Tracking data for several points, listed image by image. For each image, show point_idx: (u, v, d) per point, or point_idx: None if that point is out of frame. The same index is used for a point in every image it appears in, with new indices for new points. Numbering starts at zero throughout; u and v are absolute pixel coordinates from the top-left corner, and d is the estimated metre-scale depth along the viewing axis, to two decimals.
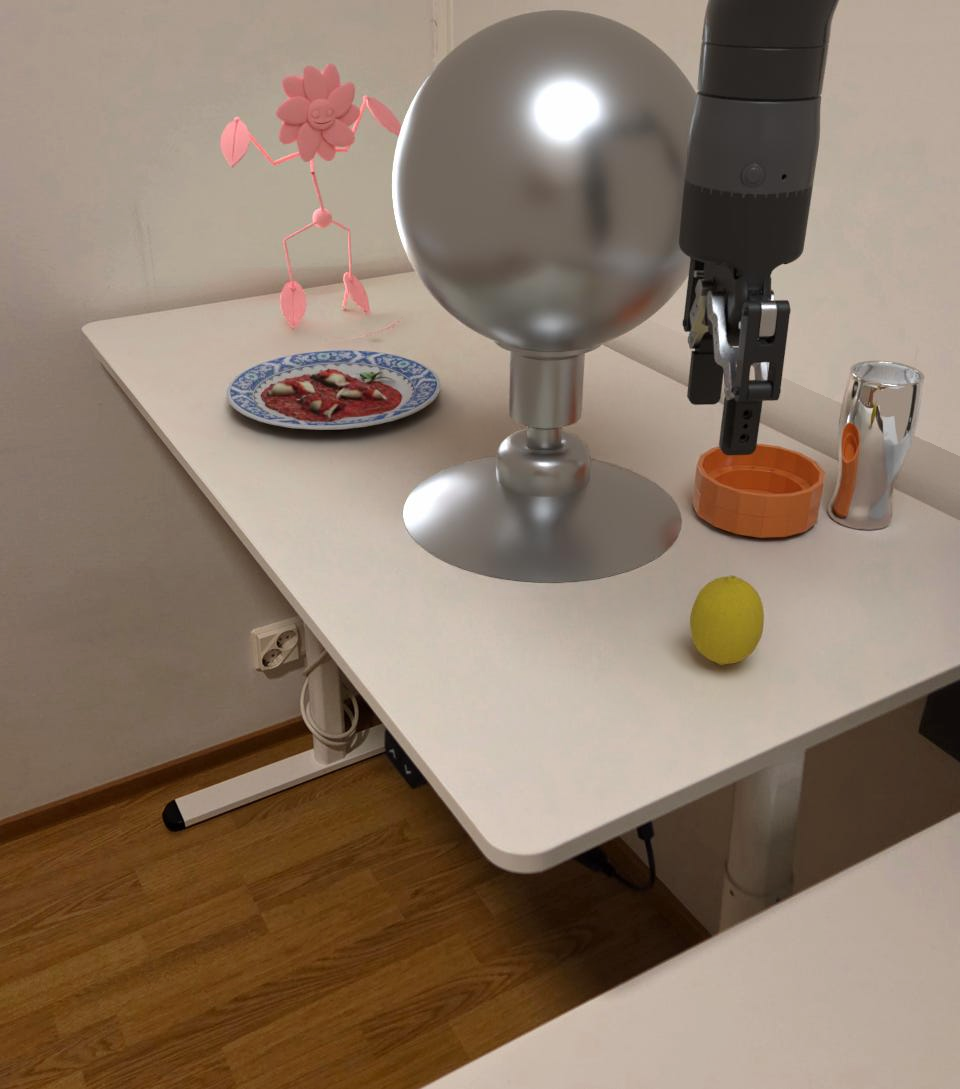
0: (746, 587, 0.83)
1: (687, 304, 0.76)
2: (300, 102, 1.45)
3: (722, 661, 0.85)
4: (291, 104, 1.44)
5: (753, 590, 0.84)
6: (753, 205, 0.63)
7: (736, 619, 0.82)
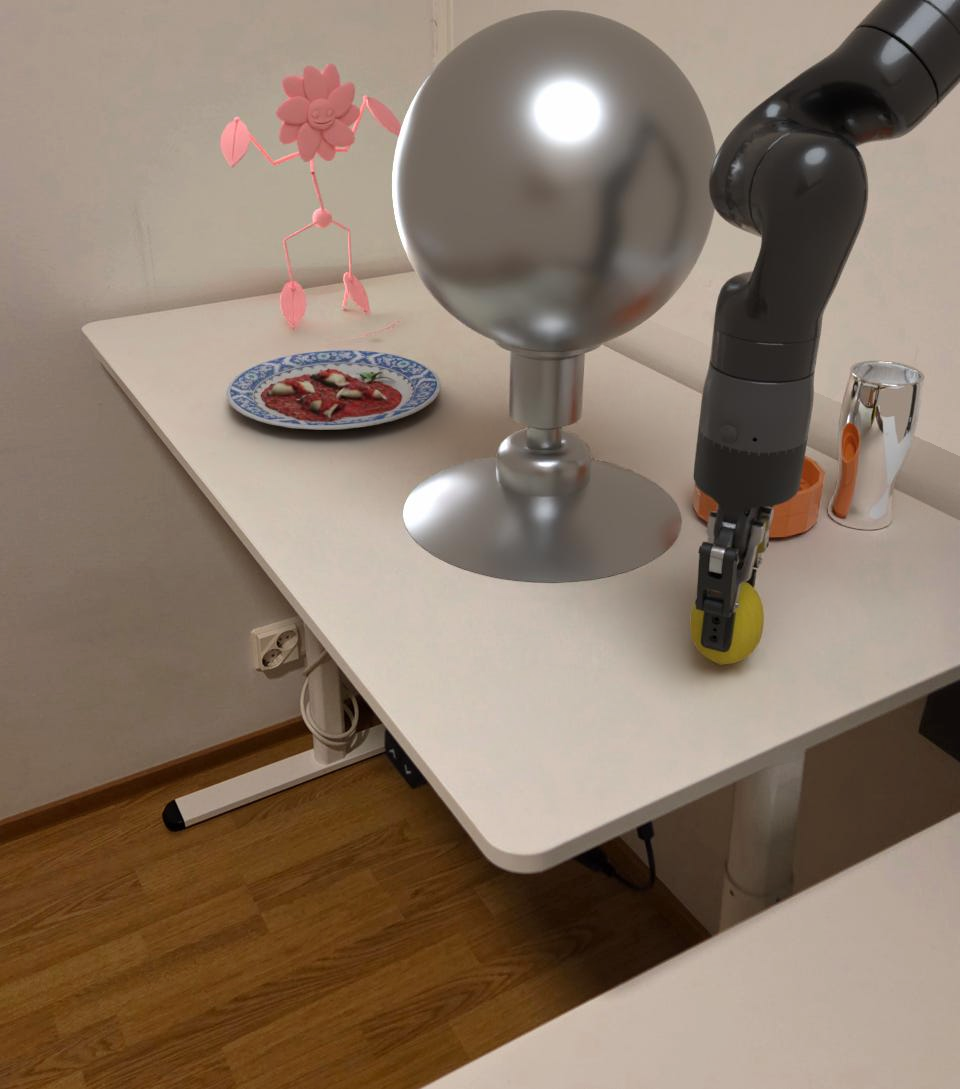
0: (746, 587, 0.83)
1: None
2: (300, 102, 1.45)
3: (722, 661, 0.85)
4: (291, 104, 1.44)
5: (753, 590, 0.83)
6: (728, 456, 0.75)
7: (736, 619, 0.82)
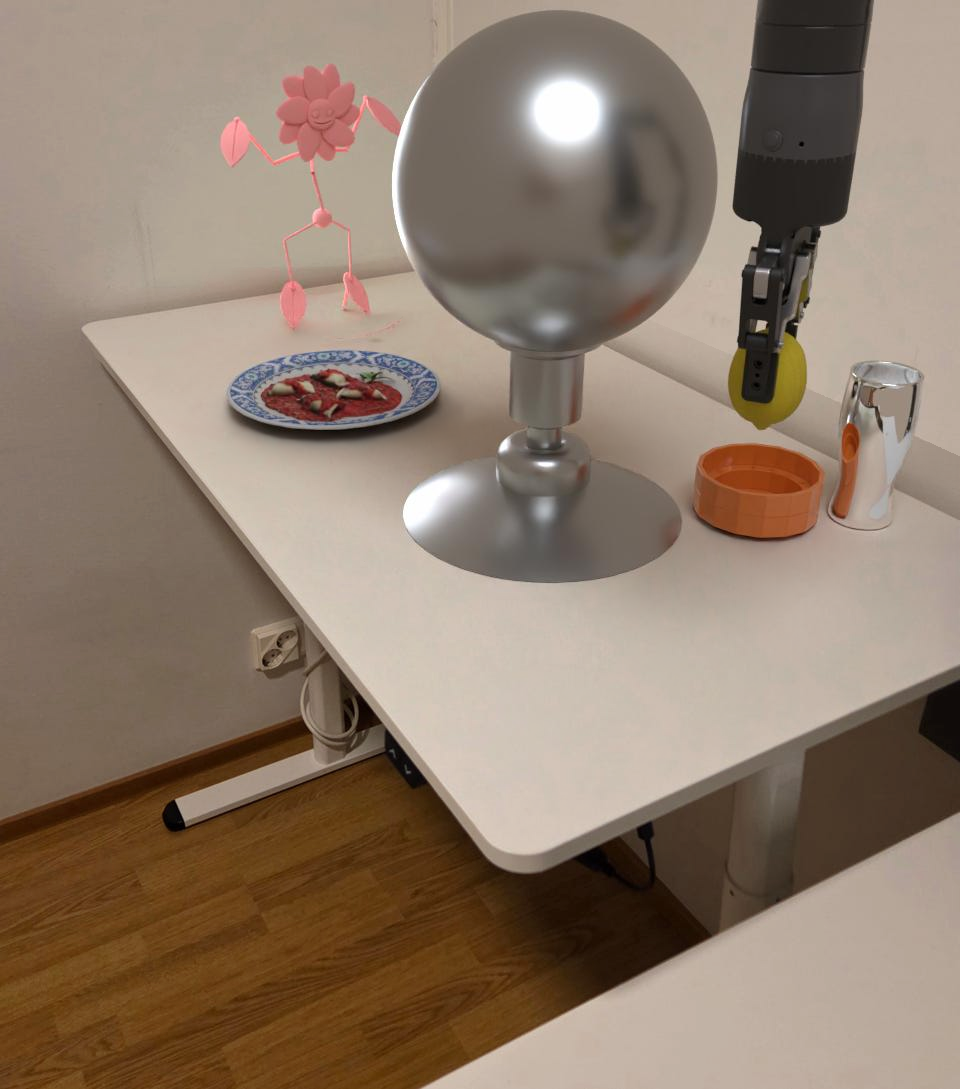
0: (788, 336, 0.78)
1: None
2: (300, 102, 1.45)
3: (763, 419, 0.79)
4: (291, 104, 1.44)
5: (796, 340, 0.78)
6: (772, 168, 0.70)
7: (779, 367, 0.77)
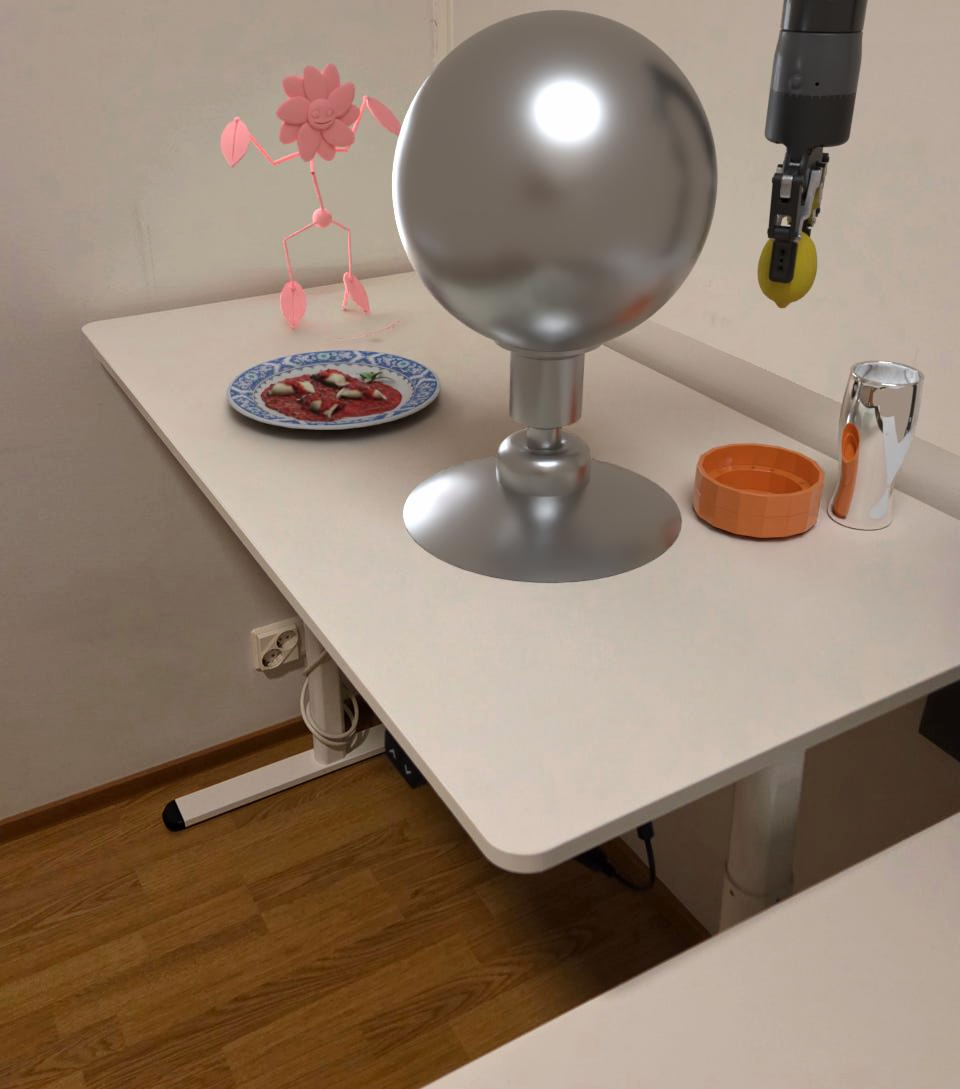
0: (804, 233, 1.04)
1: None
2: (300, 102, 1.45)
3: (784, 297, 1.06)
4: (291, 104, 1.44)
5: (809, 237, 1.05)
6: (795, 102, 0.96)
7: None
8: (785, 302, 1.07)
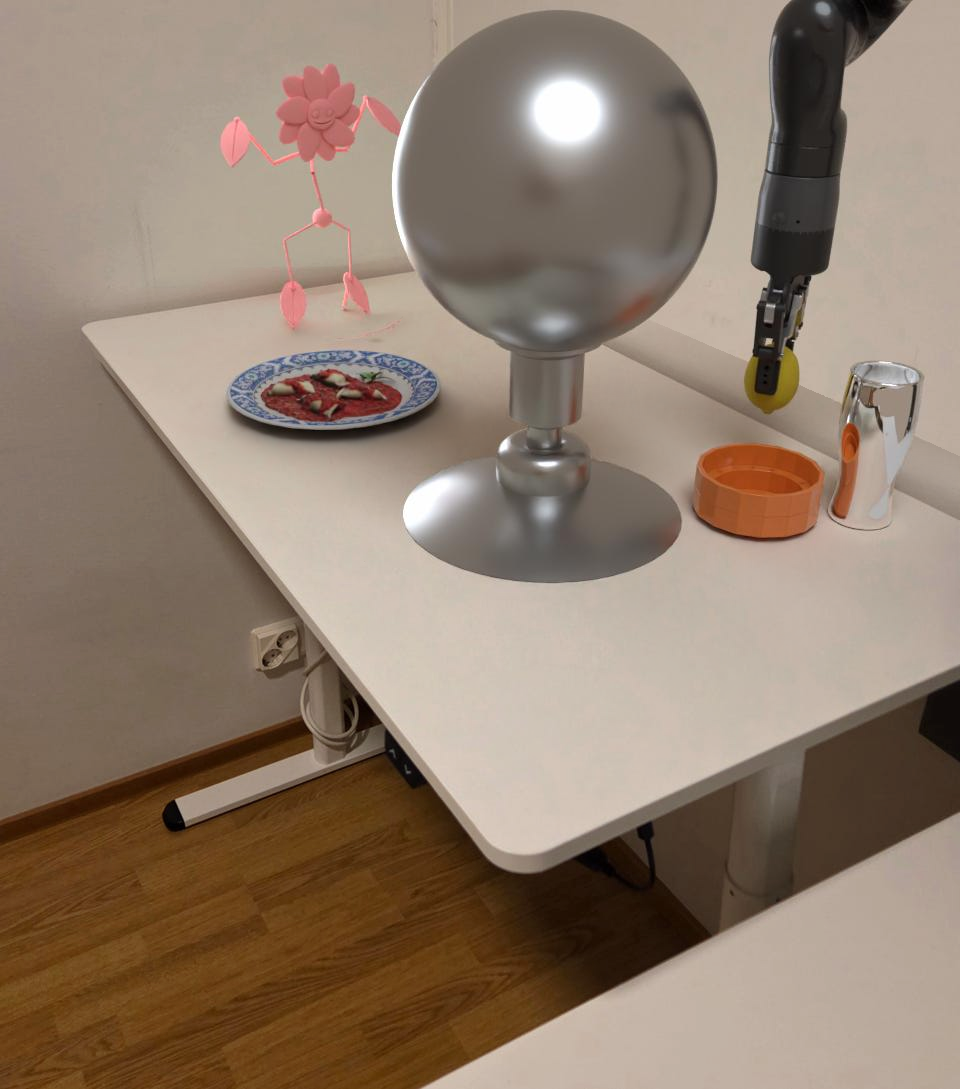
0: (787, 348, 1.13)
1: None
2: (300, 102, 1.45)
3: (768, 406, 1.14)
4: (291, 104, 1.44)
5: (792, 352, 1.13)
6: (778, 237, 1.05)
7: (780, 370, 1.12)
8: (770, 410, 1.15)
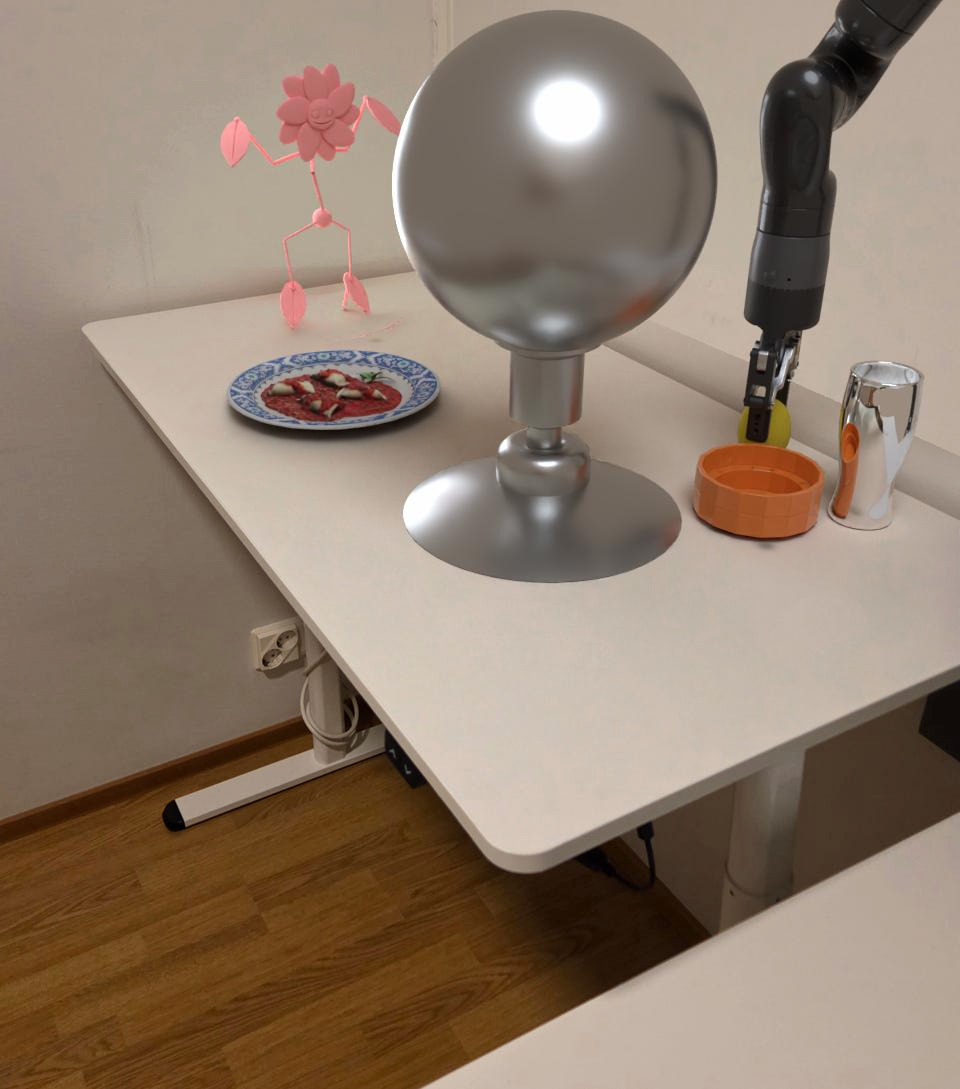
0: (779, 402, 1.16)
1: None
2: (300, 102, 1.45)
3: None
4: (291, 104, 1.44)
5: (784, 405, 1.16)
6: (770, 293, 1.07)
7: (772, 424, 1.15)
8: None
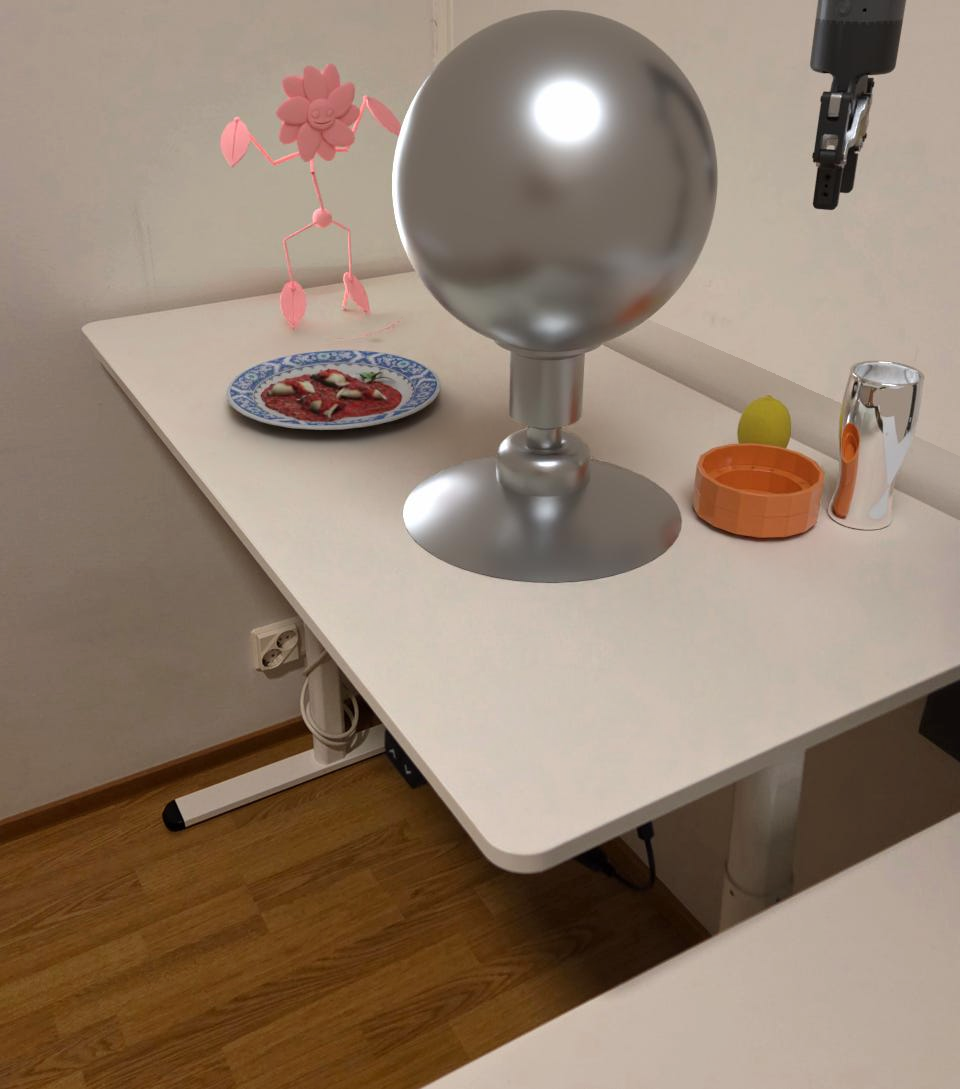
0: (779, 402, 1.16)
1: None
2: (300, 102, 1.45)
3: None
4: (291, 104, 1.44)
5: (784, 405, 1.16)
6: (843, 29, 0.96)
7: (772, 424, 1.15)
8: None
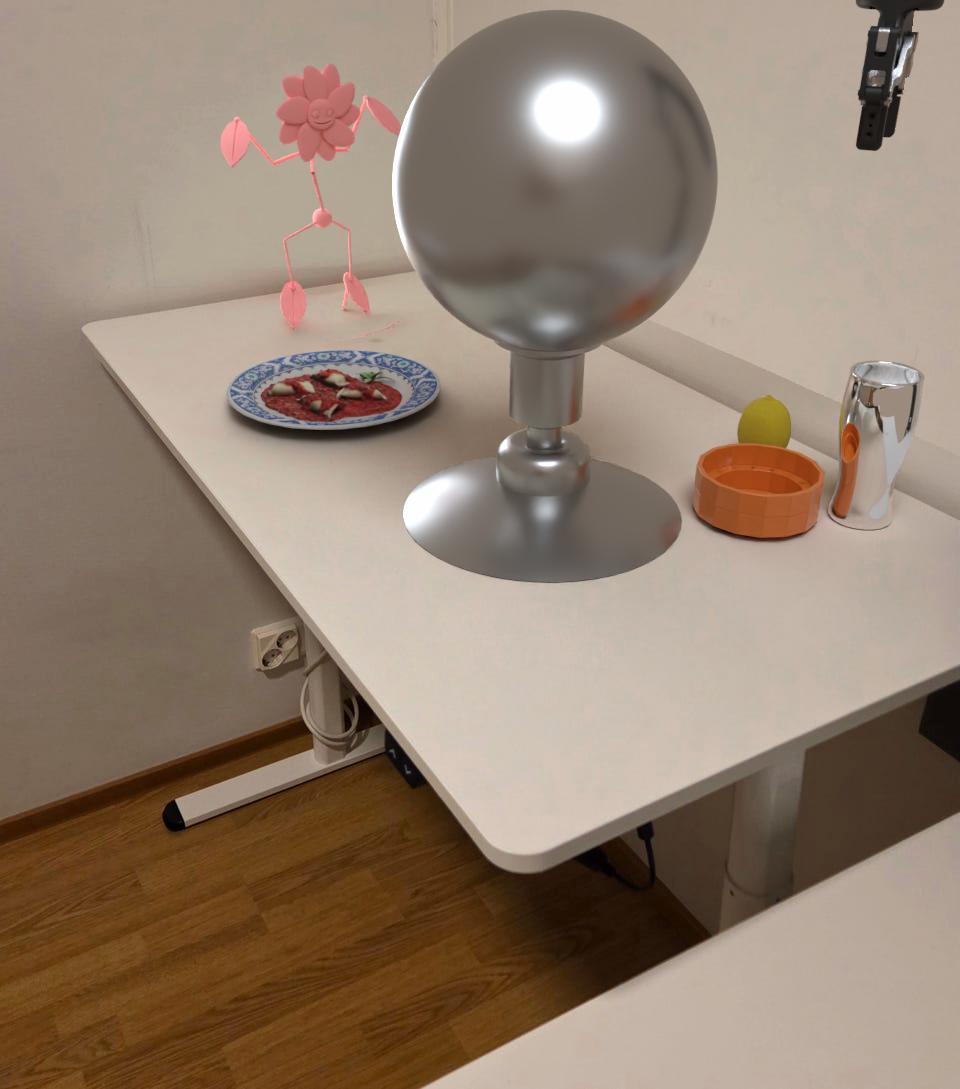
0: (779, 402, 1.16)
1: None
2: (300, 102, 1.45)
3: None
4: (291, 104, 1.44)
5: (784, 405, 1.16)
6: None
7: (772, 424, 1.15)
8: None
